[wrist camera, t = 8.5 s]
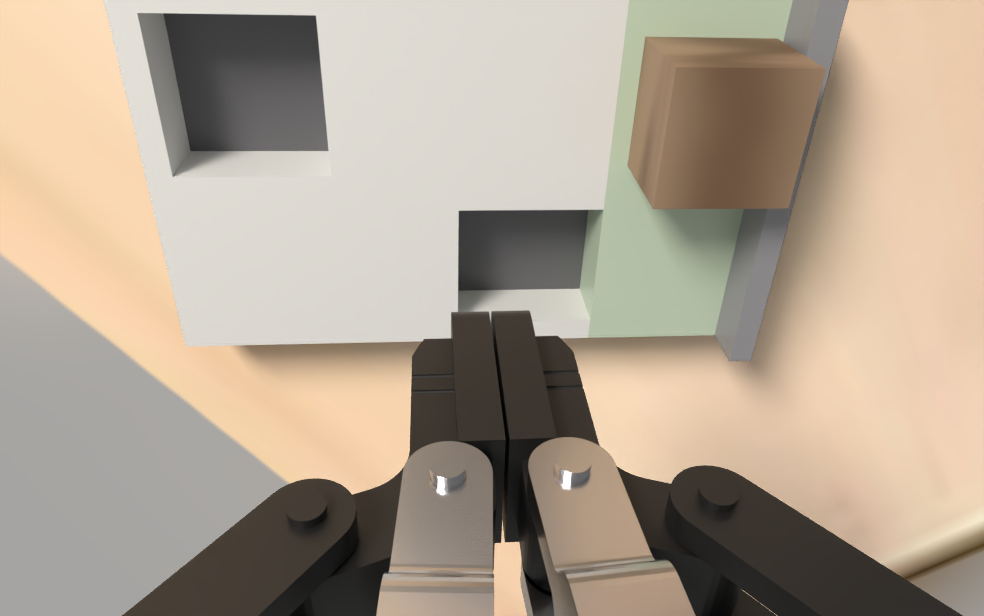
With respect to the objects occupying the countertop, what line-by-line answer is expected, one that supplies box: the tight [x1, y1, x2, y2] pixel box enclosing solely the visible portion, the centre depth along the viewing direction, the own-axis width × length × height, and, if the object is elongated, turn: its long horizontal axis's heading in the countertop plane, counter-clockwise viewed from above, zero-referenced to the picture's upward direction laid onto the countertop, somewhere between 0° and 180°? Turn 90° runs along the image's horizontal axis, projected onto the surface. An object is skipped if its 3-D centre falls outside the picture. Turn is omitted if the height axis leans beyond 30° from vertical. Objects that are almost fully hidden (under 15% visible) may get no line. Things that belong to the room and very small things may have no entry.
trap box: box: [104, 0, 849, 361], centre depth 30 cm, size 25×16×5 cm, turn 89°
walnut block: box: [627, 37, 826, 209], centre depth 27 cm, size 5×5×4 cm
